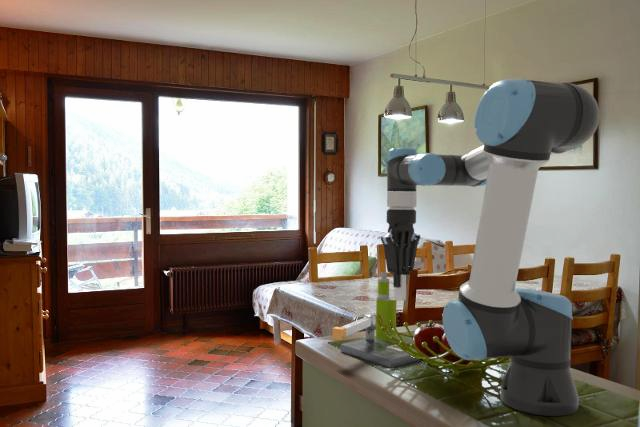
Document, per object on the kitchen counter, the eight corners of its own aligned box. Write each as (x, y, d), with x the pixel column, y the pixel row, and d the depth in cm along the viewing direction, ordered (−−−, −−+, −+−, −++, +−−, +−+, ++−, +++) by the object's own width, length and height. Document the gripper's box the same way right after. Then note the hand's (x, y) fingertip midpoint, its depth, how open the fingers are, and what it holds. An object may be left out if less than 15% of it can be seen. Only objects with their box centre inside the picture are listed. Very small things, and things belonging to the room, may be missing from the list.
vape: (380, 339, 171) (382, 270, 170) (397, 342, 167) (399, 273, 166) (373, 341, 168) (374, 272, 167) (390, 345, 164) (391, 274, 163)
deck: (422, 359, 151) (422, 339, 151) (390, 367, 144) (390, 346, 143) (372, 344, 165) (372, 325, 165) (340, 351, 157) (340, 332, 157)
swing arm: (342, 343, 145) (342, 329, 145) (331, 341, 147) (331, 327, 147) (377, 327, 162) (378, 314, 162) (367, 325, 164) (367, 313, 163)
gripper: (407, 207, 158) (405, 294, 159) (373, 208, 150) (371, 300, 151) (429, 208, 153) (427, 298, 153) (395, 209, 144) (393, 304, 145)
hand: (400, 299), depth 152 cm, fingers closed
